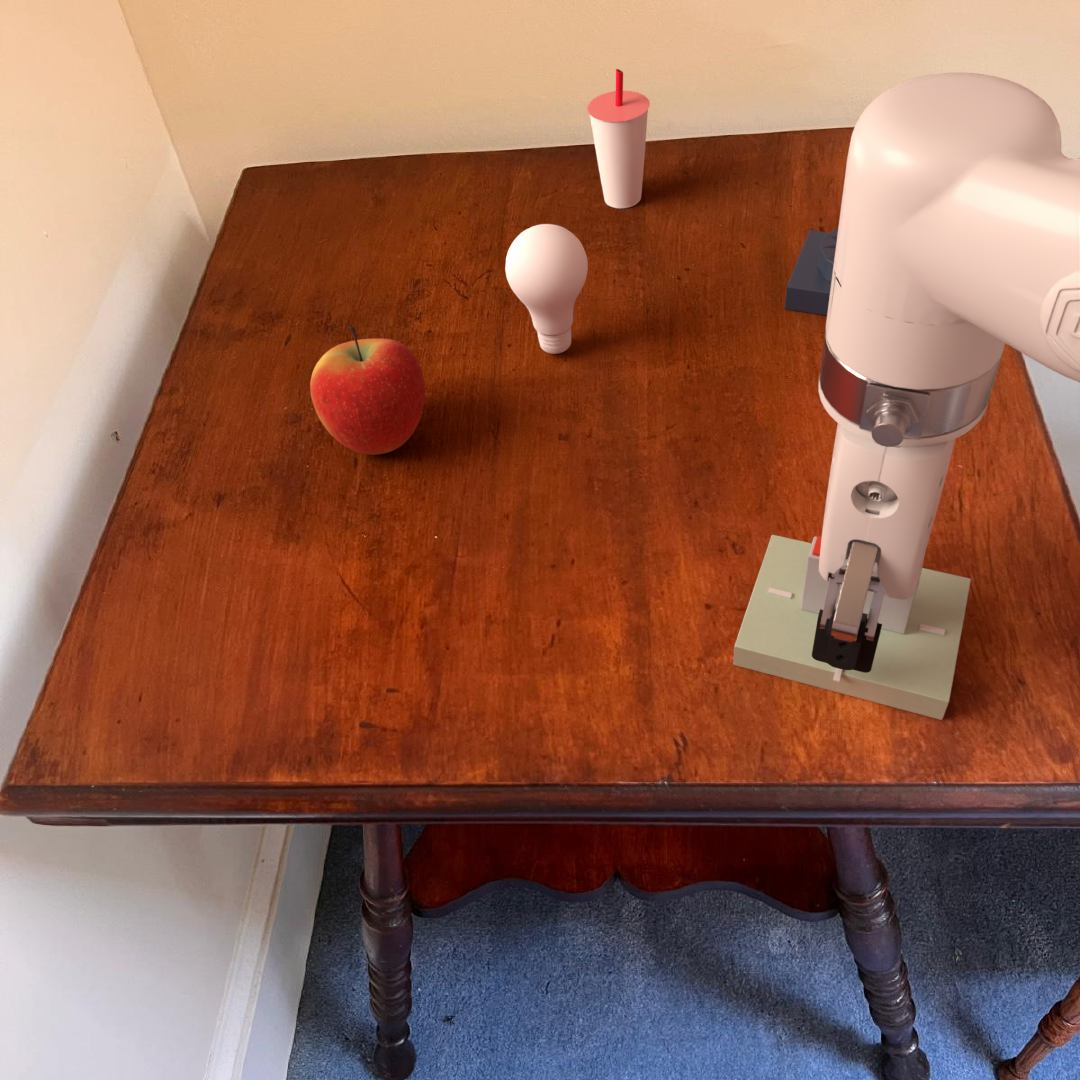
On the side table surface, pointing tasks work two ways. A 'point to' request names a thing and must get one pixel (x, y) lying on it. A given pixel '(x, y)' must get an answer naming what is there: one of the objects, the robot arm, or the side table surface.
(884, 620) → the tap handle
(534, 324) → the lightbulb
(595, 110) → the cup
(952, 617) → the panel
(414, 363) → the apple
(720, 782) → the side table surface
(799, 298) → the button block
